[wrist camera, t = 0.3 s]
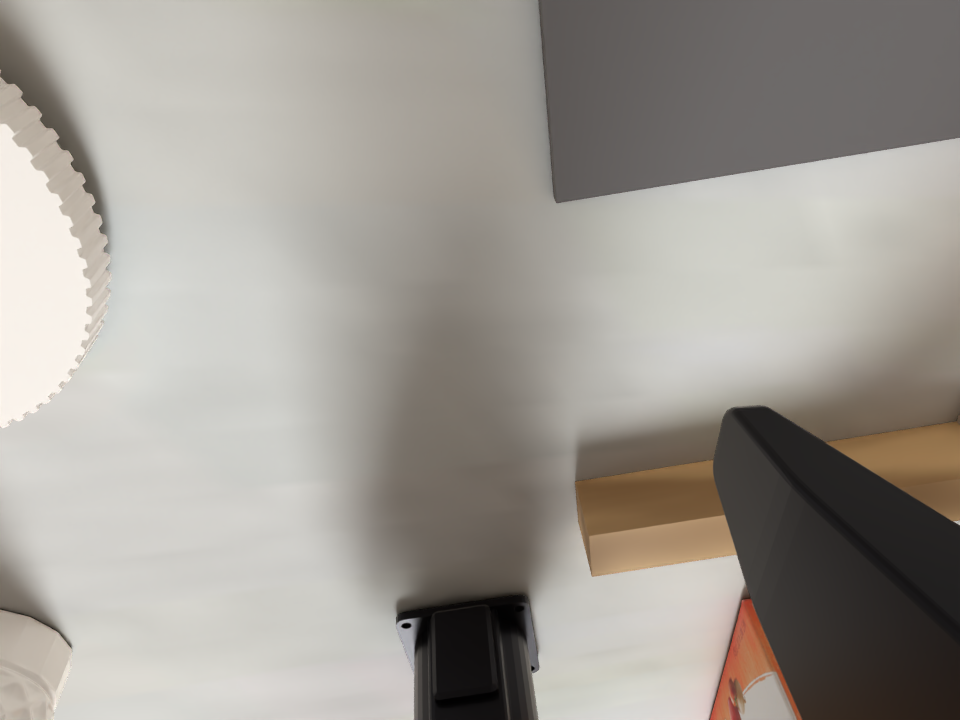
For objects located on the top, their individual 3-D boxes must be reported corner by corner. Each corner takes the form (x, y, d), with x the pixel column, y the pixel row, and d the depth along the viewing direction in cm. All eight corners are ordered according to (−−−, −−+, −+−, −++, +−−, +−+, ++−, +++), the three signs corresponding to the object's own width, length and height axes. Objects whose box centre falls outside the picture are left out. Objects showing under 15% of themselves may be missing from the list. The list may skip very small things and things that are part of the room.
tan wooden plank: (1061, 469, 30) (1117, 520, 28) (580, 543, 31) (593, 601, 28) (1117, 364, 27) (1186, 413, 24) (571, 450, 27) (586, 506, 25)
